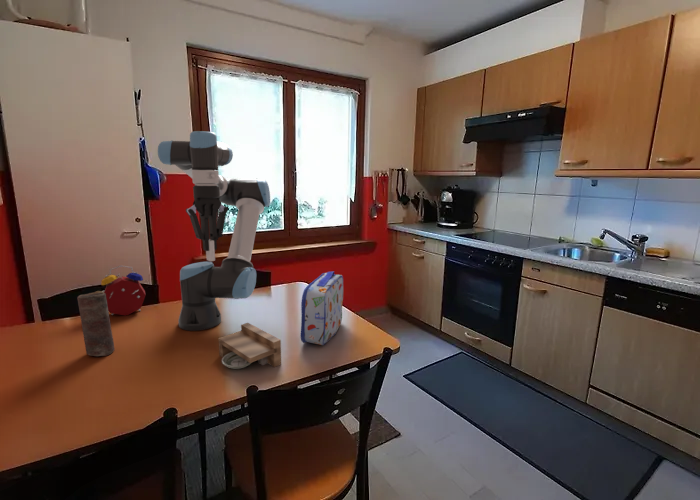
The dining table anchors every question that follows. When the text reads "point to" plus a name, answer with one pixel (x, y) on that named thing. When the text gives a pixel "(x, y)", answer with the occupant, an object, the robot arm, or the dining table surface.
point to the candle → (96, 324)
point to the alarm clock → (124, 293)
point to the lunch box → (322, 308)
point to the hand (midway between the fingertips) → (210, 260)
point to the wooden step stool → (252, 345)
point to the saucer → (234, 361)
